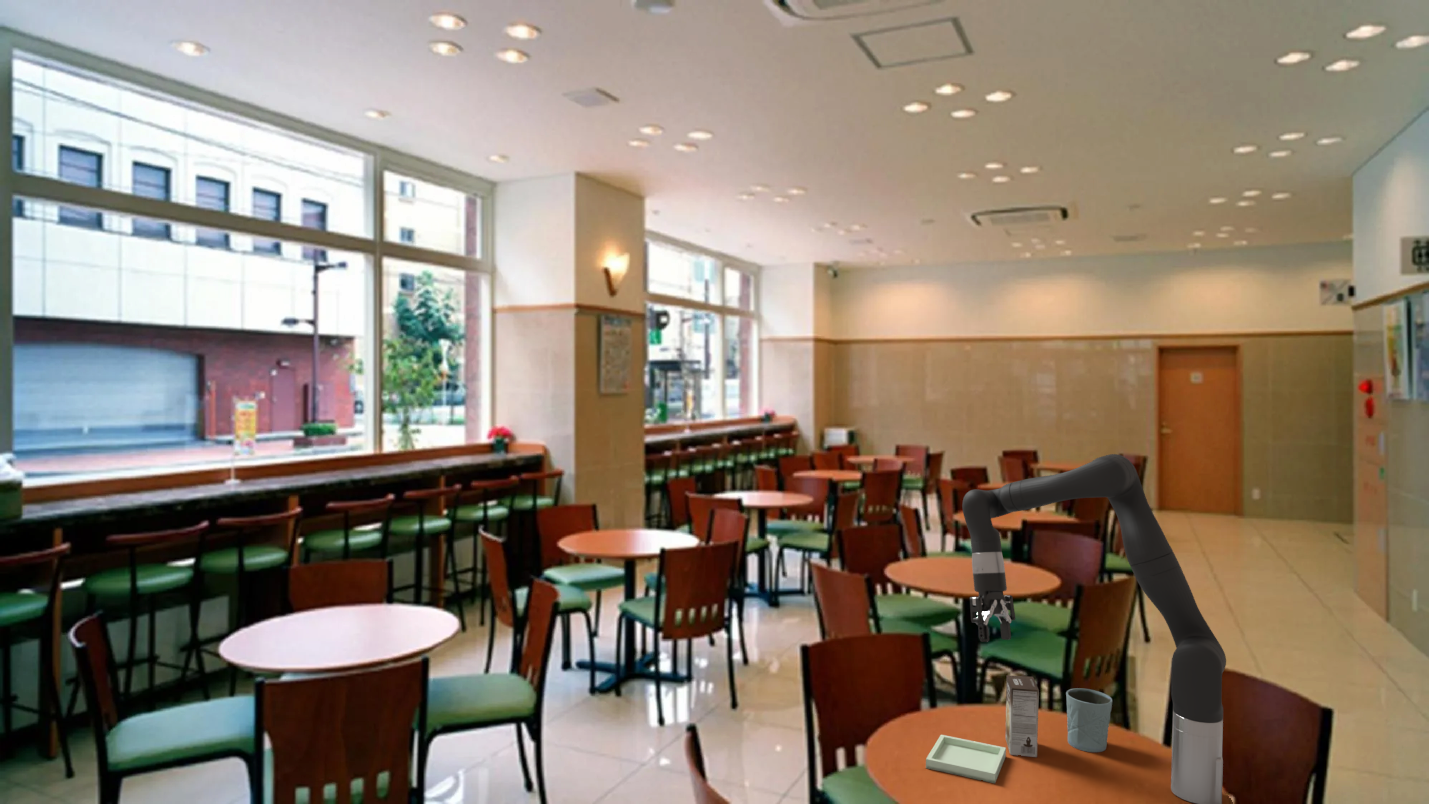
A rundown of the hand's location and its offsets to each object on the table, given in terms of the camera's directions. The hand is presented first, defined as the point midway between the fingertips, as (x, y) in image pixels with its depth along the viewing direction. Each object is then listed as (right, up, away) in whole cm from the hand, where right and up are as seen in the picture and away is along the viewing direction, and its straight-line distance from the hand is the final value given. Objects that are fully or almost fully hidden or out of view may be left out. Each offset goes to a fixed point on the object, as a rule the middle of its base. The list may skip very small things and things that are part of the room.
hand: (995, 640), depth 202 cm
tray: (-10, -25, -9) cm, 29 cm away
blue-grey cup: (+23, -26, +1) cm, 34 cm away
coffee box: (+6, -26, -1) cm, 26 cm away
